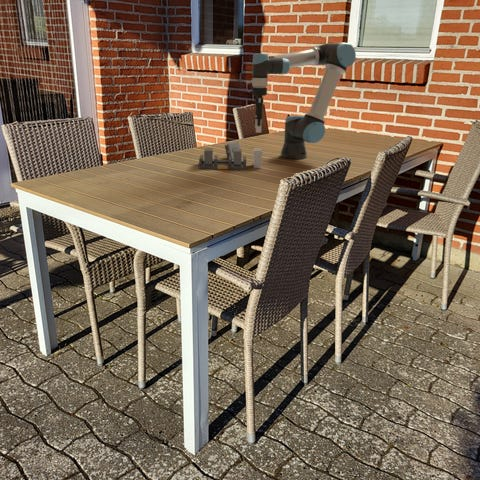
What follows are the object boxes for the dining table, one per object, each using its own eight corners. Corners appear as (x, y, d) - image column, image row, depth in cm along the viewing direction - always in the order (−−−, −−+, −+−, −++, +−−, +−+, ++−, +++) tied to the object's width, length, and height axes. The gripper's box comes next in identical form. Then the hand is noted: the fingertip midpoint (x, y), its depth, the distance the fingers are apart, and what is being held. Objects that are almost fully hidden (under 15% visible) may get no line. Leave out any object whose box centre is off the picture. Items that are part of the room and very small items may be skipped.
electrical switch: (231, 160, 263) (230, 143, 260) (224, 159, 266) (223, 143, 263) (242, 157, 270) (241, 141, 267) (235, 157, 273) (234, 141, 270)
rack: (245, 164, 255) (246, 147, 251) (246, 170, 242) (246, 152, 239) (200, 163, 254) (200, 146, 251) (198, 169, 242) (198, 151, 238)
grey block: (260, 164, 254) (261, 148, 251) (261, 168, 247) (262, 150, 243) (253, 164, 254) (253, 147, 251) (253, 168, 247) (254, 150, 243)
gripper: (251, 85, 247) (250, 126, 255) (252, 88, 224) (251, 134, 232) (265, 85, 247) (264, 126, 255) (268, 88, 224) (266, 134, 232)
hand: (258, 130), depth 244 cm, fingers open, 13 cm apart
